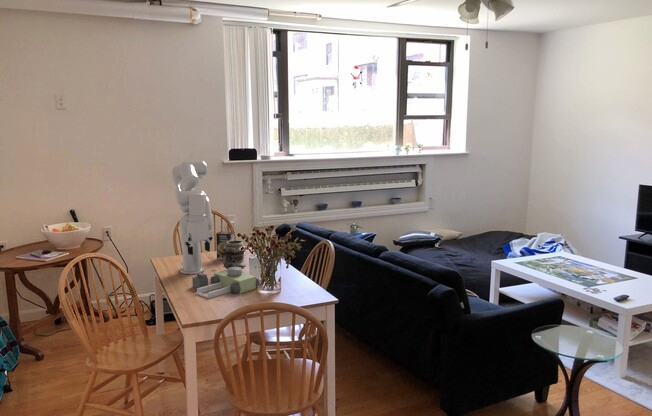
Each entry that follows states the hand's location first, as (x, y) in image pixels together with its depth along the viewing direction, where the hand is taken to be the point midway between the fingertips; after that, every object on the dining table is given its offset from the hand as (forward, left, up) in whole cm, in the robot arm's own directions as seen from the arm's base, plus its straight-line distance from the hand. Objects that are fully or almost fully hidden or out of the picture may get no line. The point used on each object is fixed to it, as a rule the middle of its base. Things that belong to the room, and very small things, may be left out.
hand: (199, 252), depth 251 cm
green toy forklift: (+12, +6, -18) cm, 22 cm away
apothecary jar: (-4, +25, -18) cm, 31 cm away
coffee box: (-33, +41, -18) cm, 56 cm away
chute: (0, 0, -18) cm, 18 cm away
